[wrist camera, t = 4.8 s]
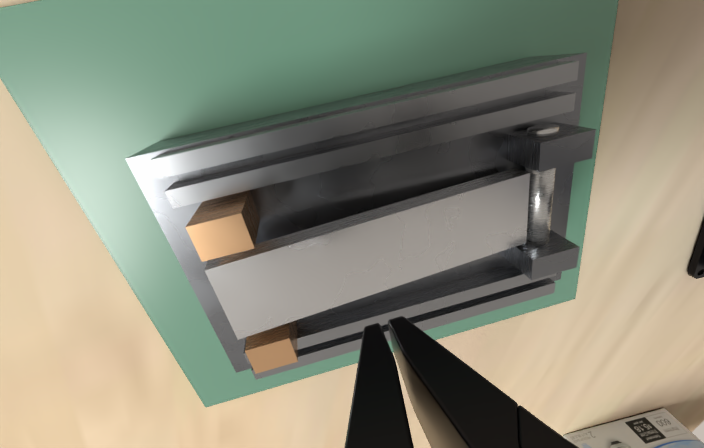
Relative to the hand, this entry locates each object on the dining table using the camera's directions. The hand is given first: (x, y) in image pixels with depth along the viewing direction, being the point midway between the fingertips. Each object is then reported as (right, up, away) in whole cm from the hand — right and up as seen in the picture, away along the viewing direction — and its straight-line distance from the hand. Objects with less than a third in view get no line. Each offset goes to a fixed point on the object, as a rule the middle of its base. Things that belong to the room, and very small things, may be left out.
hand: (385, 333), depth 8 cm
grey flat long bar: (0, +2, +4) cm, 5 cm away
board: (0, +4, +8) cm, 9 cm away
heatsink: (0, +4, +8) cm, 9 cm away
